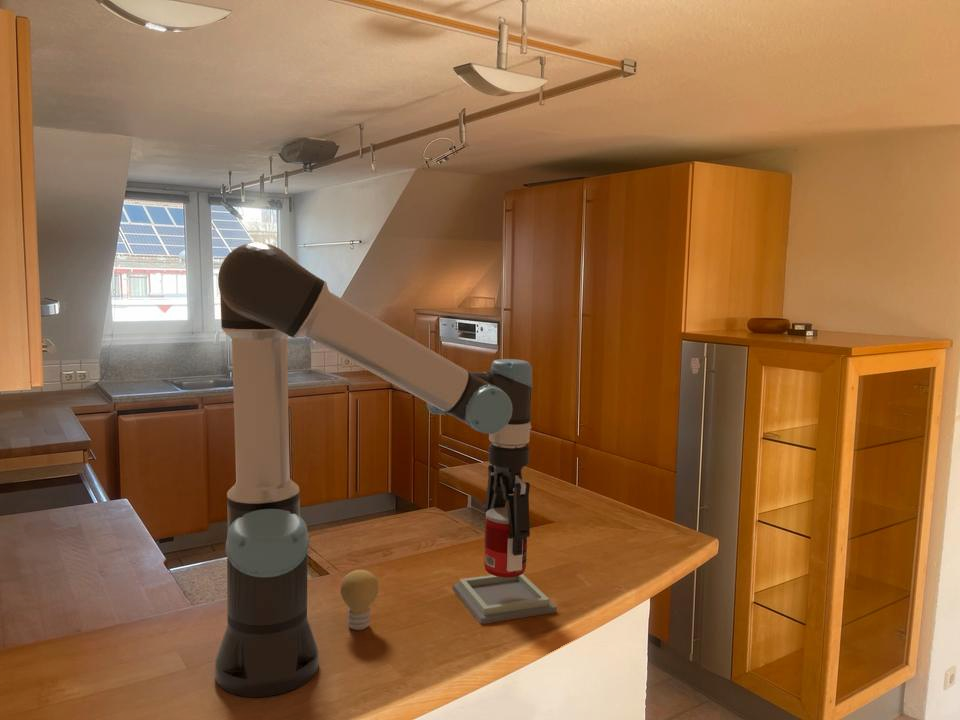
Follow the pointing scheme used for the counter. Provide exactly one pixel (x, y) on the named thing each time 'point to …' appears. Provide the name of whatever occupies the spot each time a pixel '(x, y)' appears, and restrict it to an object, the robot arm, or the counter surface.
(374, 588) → the light bulb
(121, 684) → the counter surface
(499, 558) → the canned food
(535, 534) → the counter surface
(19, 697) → the counter surface
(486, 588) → the coaster
